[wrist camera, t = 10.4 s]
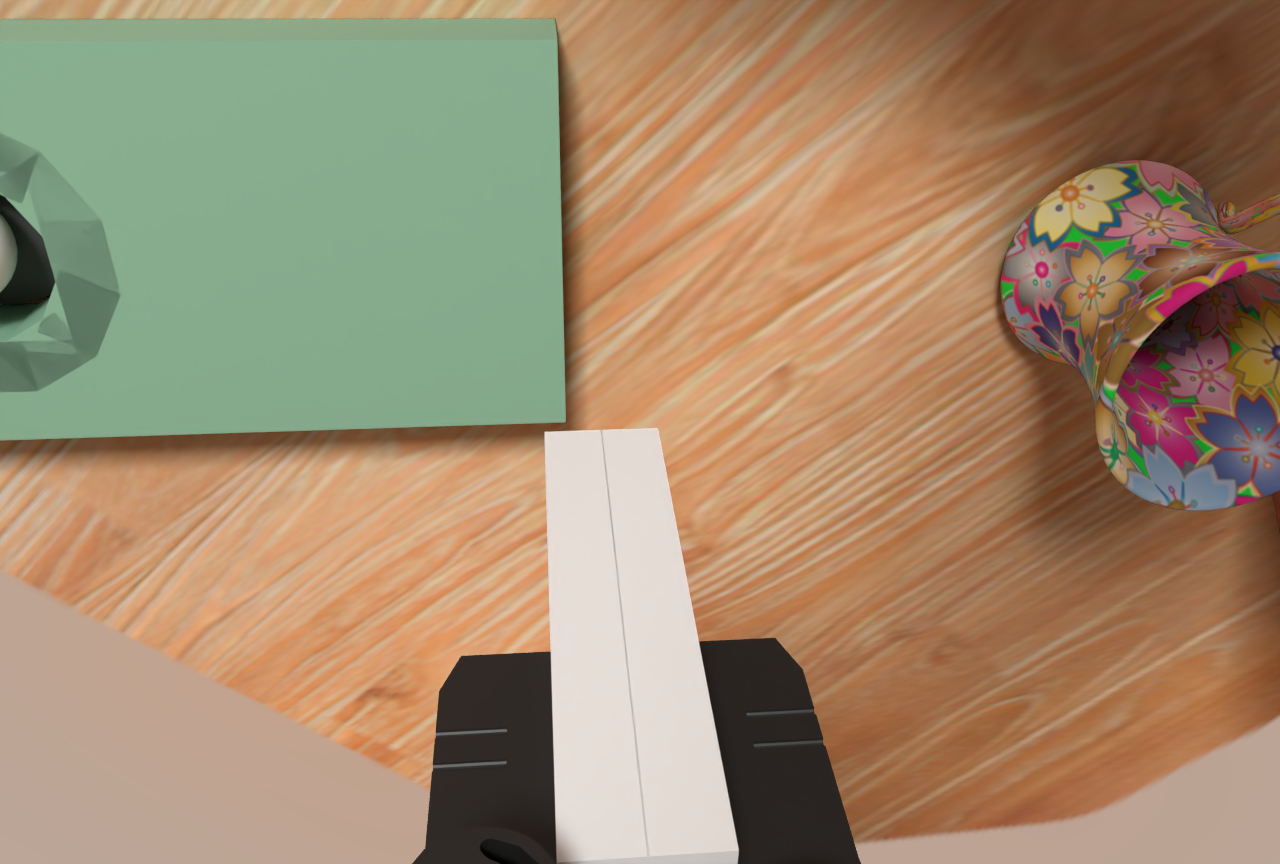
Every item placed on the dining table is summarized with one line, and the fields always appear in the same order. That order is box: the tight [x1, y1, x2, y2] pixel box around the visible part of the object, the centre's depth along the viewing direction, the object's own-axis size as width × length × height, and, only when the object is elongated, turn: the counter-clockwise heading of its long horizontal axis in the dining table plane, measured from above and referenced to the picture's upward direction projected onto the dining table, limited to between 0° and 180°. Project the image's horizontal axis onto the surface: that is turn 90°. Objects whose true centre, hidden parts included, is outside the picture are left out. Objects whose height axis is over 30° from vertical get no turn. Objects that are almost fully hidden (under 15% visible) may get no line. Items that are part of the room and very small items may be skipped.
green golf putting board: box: [0, 19, 566, 440], centre depth 37 cm, size 14×26×5 cm, turn 89°
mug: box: [1001, 160, 1280, 511], centre depth 38 cm, size 12×9×11 cm
